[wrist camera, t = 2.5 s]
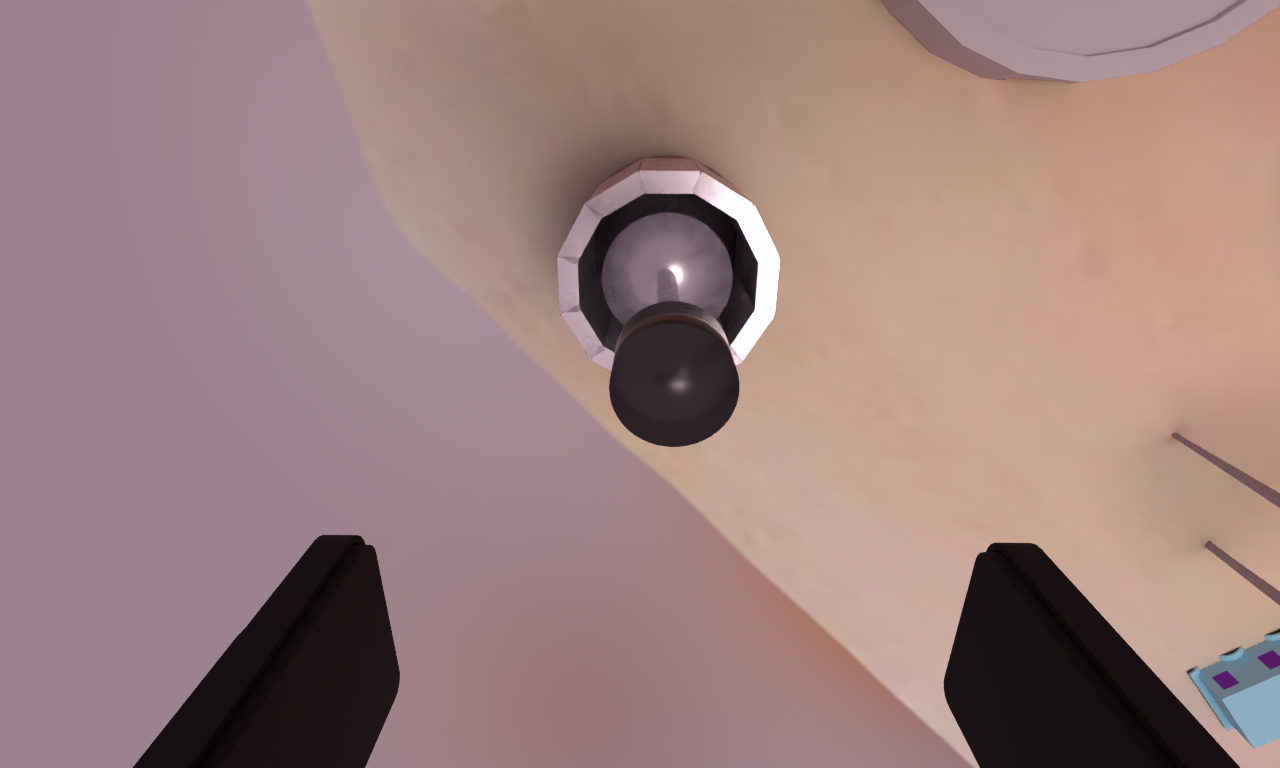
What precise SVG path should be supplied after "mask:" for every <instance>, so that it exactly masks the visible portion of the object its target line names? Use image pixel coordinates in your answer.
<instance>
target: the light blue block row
mask: <svg viewBox="0 0 1280 768" xmlns="http://www.w3.org/2000/svg"><path fill="white" fill-rule="evenodd" d="M1264 637H1265V639H1266V641H1264V642H1262V643H1260V644H1258V645H1255V646H1253V647H1251V648H1249V649H1247V650H1244V649H1243V647H1242V646H1240V647H1239V648H1238V650H1237V651H1235V652H1234V653H1232V654H1229V655H1220V656H1219V658H1220V659H1221V661H1220V662H1218V663H1216V664H1213V665H1211V666H1209V667H1207V668H1205V669H1202V670H1200V669H1199V668H1198V666H1196V667H1195V668H1194V670H1193V671H1192V672H1190V673H1189V675H1190V676H1191V678H1192V679H1193V681H1194V682H1195V684H1196V685H1197V687H1198V688H1199V690H1200V691H1201V693H1202V694H1203V696H1204V697H1205V699H1206V700H1207V702H1208V703H1209V705H1210V706H1211V708H1212V709H1213V711H1214V712H1215V714H1216V715H1217V716H1218V718H1219V719H1220V721H1221V722H1222V724H1223V725H1224V727H1225V728H1226V730H1227V731H1230V730H1231V729H1233V727H1234V728H1235V729H1236V730H1237V731H1238V732H1239V733H1240V734H1241V735H1242V736H1243V737H1244V738H1245V739H1246V740H1247V742H1248V743H1249V744H1250V745H1251V746H1252V747H1253V748H1257V747H1259V746H1262V745H1264V744H1267V743H1269V742H1272V741H1274V740H1276V739H1279V738H1280V632H1278V633H1276V634H1270V635H1267V634H1266V635H1264Z"/></svg>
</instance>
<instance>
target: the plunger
mask: <svg viewBox="0 0 1280 768" xmlns="http://www.w3.org/2000/svg"><path fill="white" fill-rule="evenodd" d="M602 287H603V292H604V296H605V299H606V302H607V304H608V306H609V308H610V310H611V312H612V313H613V314H614V316H615V317H616V318H617V320H618V321H619V322H620V323H621V324H622V325H623V326H624V327H623V329H622V330H621V332H620V334H619V337H618V340H617V343H616V348H615V354H614V360H613V365H612V371H611V377H610V386H609V391H610V399H611V403H612V406H613V409H614V411H615V413H616V415H617V417H618V418H619V420H620V421H621V422H622V424H623V425H624V426H625V427H626V428H627V429H628V430H629V431H630V432H632V433H633V434H634V435H636V436H637V437H639V438H641V439H643V440H645V441H647V442H649V443H653V444H656V445H661V446H668V447H680V446H687V445H691V444H695V443H698V442H700V441H703V440H705V439H707V438H708V437H710V436H712V435H713V434H715V433H716V432H717V431H719V430H720V429H721V428H722V427H723V426H724V425H725V423H726V422H727V421H728V420H729V418H730V417H731V415H732V413H733V411H734V409H735V407H736V404H737V401H738V396H739V378H738V373H737V370H736V366H735V363H734V360H733V357H732V354H731V350H730V347H729V344H728V341H727V338H726V335H725V333H724V331H723V329H722V327H721V326H720V324H719V323H718V322H717V320H716V319H717V318H718V317H719V315H720V314H721V313H722V311H723V309H724V308H725V306H726V304H727V301H728V299H729V296H730V292H731V288H732V265H731V261H730V257H729V254H728V252H727V250H726V248H725V246H724V244H723V242H722V240H721V239H720V237H719V236H718V235H717V233H716V232H715V231H714V230H713V229H712V228H711V227H710V226H709V225H708V224H706V223H705V222H703V221H702V220H700V219H698V218H697V217H695V216H692V215H690V214H687V213H683V212H678V211H657V212H652V213H649V214H646V215H643V216H641V217H639V218H637V219H635V220H633V221H632V222H630V223H629V224H627V225H626V226H625V227H624V228H623V229H622V230H621V231H620V232H619V233H618V234H617V236H616V237H615V238H614V240H613V242H612V243H611V245H610V247H609V249H608V251H607V254H606V257H605V260H604V264H603V270H602Z"/></svg>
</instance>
